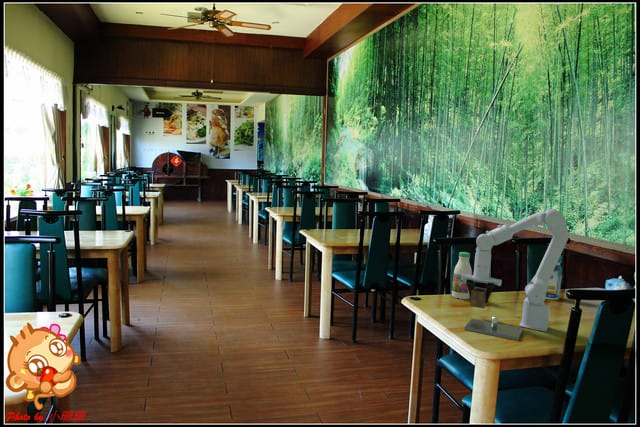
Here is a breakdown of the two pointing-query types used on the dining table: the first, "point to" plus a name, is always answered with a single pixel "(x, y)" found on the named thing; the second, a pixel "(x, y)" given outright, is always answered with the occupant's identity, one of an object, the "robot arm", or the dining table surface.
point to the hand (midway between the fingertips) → (479, 301)
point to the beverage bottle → (555, 282)
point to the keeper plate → (494, 328)
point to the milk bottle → (460, 285)
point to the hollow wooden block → (478, 297)
